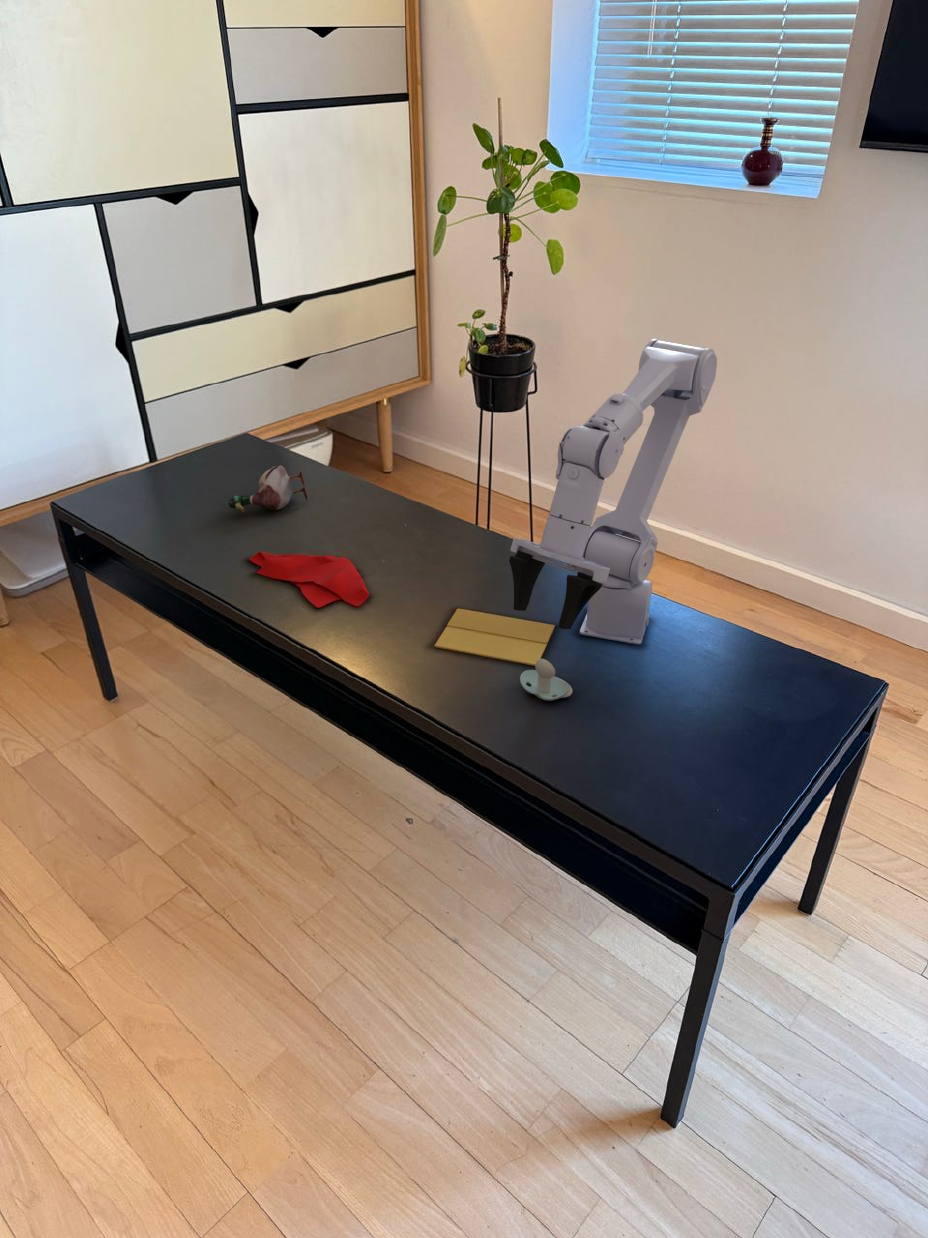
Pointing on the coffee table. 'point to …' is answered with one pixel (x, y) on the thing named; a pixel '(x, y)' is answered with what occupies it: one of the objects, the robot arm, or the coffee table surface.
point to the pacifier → (545, 682)
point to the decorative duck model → (270, 491)
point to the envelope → (496, 636)
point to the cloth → (316, 576)
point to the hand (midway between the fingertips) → (541, 619)
